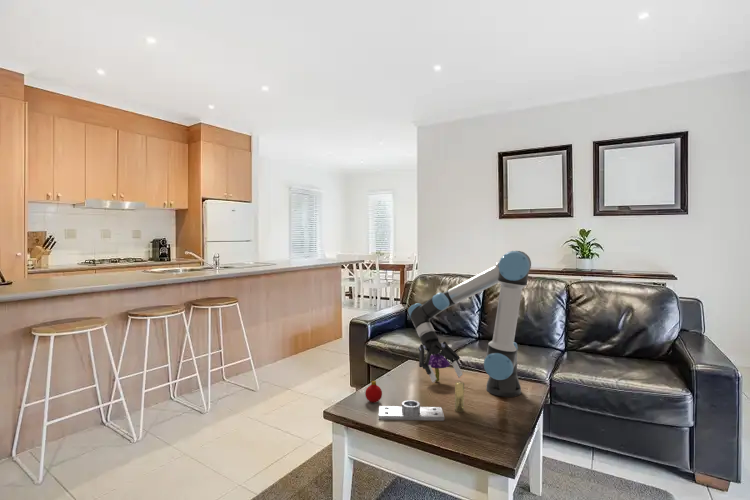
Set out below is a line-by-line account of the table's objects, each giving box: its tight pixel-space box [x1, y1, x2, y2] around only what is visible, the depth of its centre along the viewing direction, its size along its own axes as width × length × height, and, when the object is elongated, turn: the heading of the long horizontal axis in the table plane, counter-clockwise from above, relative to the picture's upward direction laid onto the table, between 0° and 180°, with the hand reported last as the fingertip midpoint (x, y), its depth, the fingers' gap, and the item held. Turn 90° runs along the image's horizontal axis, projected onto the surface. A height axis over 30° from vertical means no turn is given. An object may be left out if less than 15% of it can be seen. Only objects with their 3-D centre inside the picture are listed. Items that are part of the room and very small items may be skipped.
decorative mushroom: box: [428, 354, 451, 383], centre depth 197 cm, size 12×12×15 cm
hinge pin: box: [454, 381, 465, 413], centre depth 163 cm, size 4×4×11 cm
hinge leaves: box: [378, 399, 445, 422], centre depth 159 cm, size 25×9×4 cm, turn 88°
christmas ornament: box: [364, 378, 383, 403], centre depth 171 cm, size 7×7×10 cm
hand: (447, 378), depth 169 cm, fingers open, 13 cm apart
